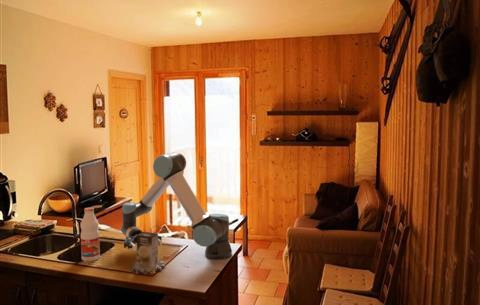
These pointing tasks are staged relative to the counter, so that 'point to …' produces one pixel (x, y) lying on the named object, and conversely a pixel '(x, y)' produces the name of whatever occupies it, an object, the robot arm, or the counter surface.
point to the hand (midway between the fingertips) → (148, 246)
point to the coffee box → (147, 249)
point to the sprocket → (147, 268)
